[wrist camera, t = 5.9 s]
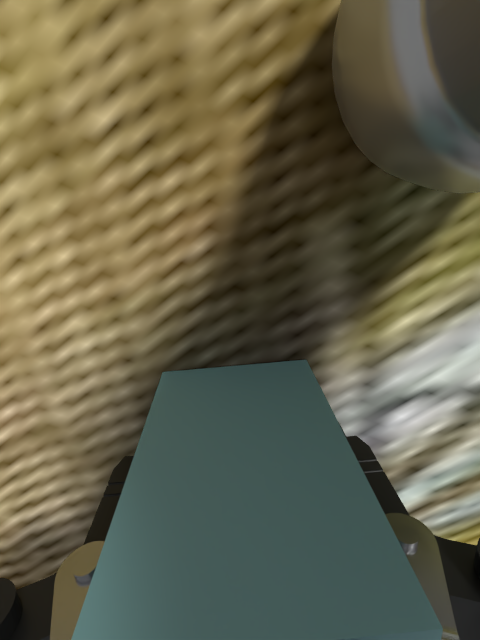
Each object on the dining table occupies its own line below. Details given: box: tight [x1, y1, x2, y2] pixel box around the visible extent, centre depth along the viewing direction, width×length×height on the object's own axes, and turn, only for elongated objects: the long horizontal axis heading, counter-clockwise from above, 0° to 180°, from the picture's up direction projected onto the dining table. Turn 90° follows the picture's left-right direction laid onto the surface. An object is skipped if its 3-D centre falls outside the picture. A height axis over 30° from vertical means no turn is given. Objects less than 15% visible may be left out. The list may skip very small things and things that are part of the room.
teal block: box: [71, 360, 443, 640], centre depth 9 cm, size 5×5×8 cm
